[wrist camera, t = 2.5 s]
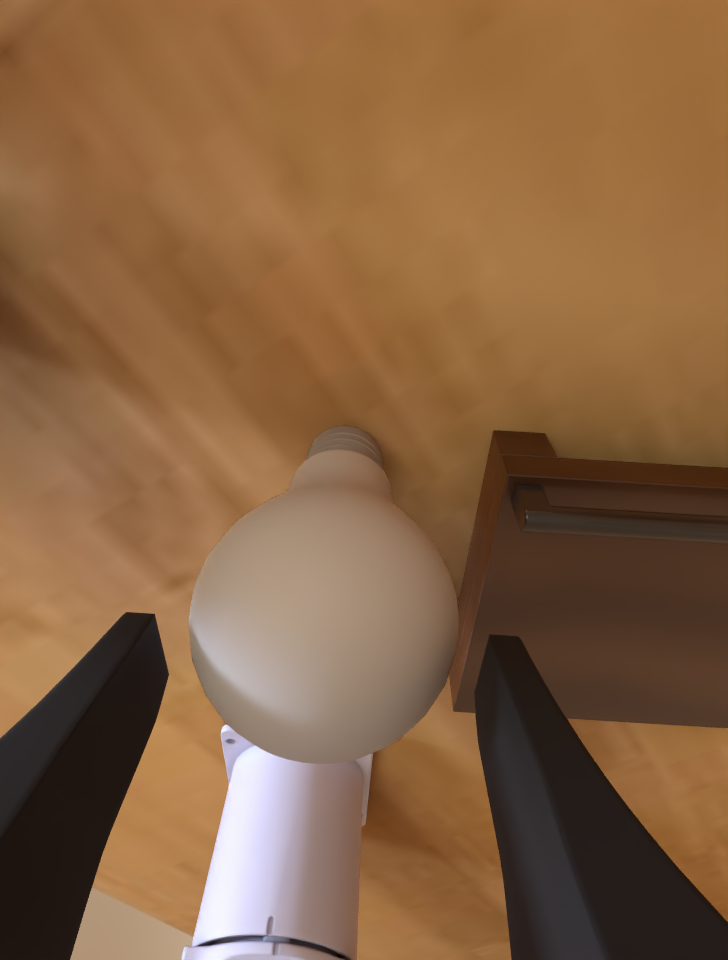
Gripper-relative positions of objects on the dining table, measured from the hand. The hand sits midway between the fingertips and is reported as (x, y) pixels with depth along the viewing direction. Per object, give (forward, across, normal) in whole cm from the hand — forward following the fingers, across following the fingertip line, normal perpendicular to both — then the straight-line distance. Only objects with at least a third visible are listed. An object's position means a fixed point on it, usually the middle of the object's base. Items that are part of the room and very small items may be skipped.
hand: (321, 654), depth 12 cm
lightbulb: (+9, 0, 0) cm, 9 cm away
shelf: (+9, -12, +5) cm, 16 cm away
